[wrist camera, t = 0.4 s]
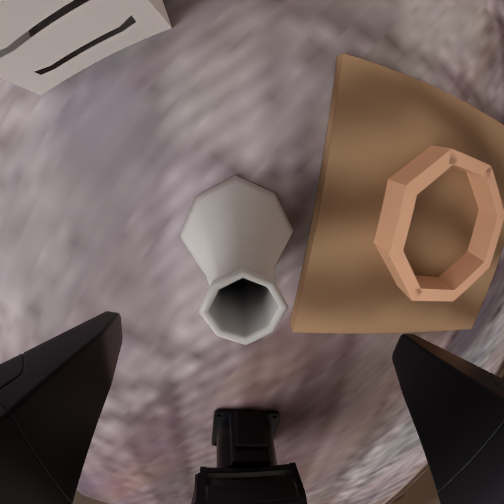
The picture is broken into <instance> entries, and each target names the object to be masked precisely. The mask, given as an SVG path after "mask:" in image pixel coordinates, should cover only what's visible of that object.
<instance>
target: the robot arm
mask: <svg viewBox="0 0 504 504" xmlns="http://www.w3.org/2000/svg"><path fill="white" fill-rule="evenodd" d="M121 345H122V326H121V316H120V314H119V313H115V312H109V311H106V312H104V313H102V314H100V315H98V316H96V317H94V318H92V319H90V320H88V321H86V322H84V323H82V324H80V325H78V326H76V327H74V328H72V329H70V330H68V331H66V332H64V333H62V334H60V335H58V336H56V337H54V338H52V339H50V340H48V341H46V342H44V343H42V344H40V345H38V346H36V347H34V348H32V349H30V350H28V351H26V352H24V353H23V354H20V355H18V356H16V357H14V358H12V359H10V360H8V361H6V362H4V363H2V364H0V504H72V503H73V500H74V496H75V492H76V489H77V485H78V482H79V478H80V475H81V472H82V468H83V465H84V462H85V459H86V455H87V452H88V449H89V446H90V443H91V440H92V437H93V434H94V431H95V428H96V425H97V422H98V420H99V417H100V414H101V411H102V408H103V406H104V403H105V400H106V398H107V395H108V392H109V389H110V387H111V383H112V380H113V376H114V372H115V368H116V364H117V360H118V356H119V352H120V348H121ZM392 360H393V363H394V366H395V370H396V373H397V376H398V380H399V383H400V387H401V390H402V393H403V396H404V399H405V401H406V404H407V406H408V409H409V412H410V414H411V417H412V419H413V422H414V425H415V427H416V430H417V433H418V436H419V438H420V441H421V444H422V447H423V450H424V452H425V455H426V458H427V461H428V464H429V467H430V470H431V473H432V476H433V480H434V483H435V486H436V489H437V492H438V496H439V500H440V503H441V504H504V379H502V378H500V377H498V376H496V375H494V374H492V373H489V372H488V371H486V370H484V369H482V368H480V367H478V366H476V365H474V364H472V363H470V362H468V361H466V360H464V359H462V358H460V357H458V356H456V355H454V354H452V353H450V352H448V351H446V350H444V349H442V348H440V347H438V346H436V345H434V344H432V343H430V342H428V341H426V340H424V339H422V338H420V337H418V336H416V335H414V334H403V335H401V336H400V338H399V340H398V343H397V345H396V347H395V350H394V352H393V355H392ZM279 418H280V414H279V412H278V411H241V410H221V409H218V410H215V411H214V420H213V432H212V445H214V446H217V468H207V467H200V473H198V474H196V475H195V489H194V494H193V498H192V503H191V504H307V499H306V494H305V490H304V487H303V484H302V481H301V479H300V476H299V473H298V470H297V467H296V464H295V463H289V464H284V465H277V461H276V454H275V448H274V442H273V436H274V433H275V430H276V427H277V424H278V421H279Z"/></svg>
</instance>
